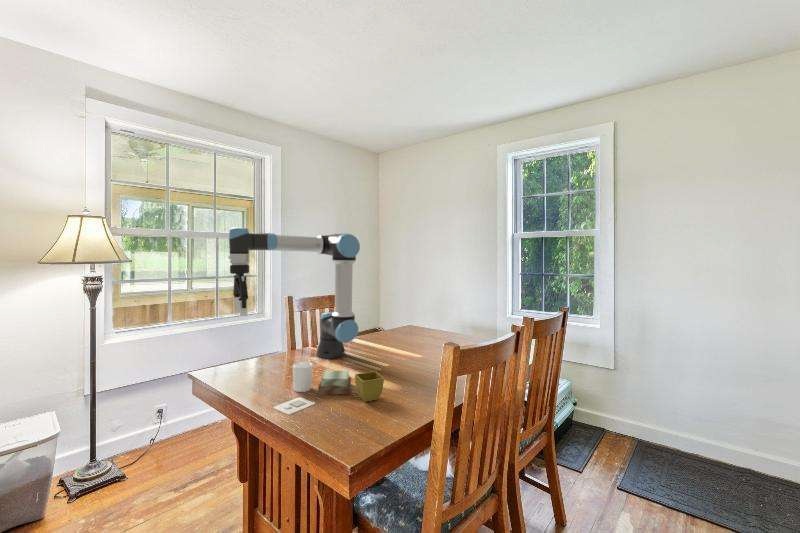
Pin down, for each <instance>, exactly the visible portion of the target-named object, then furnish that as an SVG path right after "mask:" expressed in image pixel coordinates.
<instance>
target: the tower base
mask: <svg viewBox="0 0 800 533" xmlns="http://www.w3.org/2000/svg"><path fill="white" fill-rule="evenodd" d="M349 375H350V370H327V369H326V370H325V369H324V370H323V374H322V377H321V379H320V381H319V384H318V387H317V388H318V391H317V394H318V396H326V395H327V396H335V395H334V394H349V393H350V394H351V387H350V386H352V376H349ZM328 394H329V395H328ZM331 394H332V395H331ZM350 394H349V395H350Z"/></svg>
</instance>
